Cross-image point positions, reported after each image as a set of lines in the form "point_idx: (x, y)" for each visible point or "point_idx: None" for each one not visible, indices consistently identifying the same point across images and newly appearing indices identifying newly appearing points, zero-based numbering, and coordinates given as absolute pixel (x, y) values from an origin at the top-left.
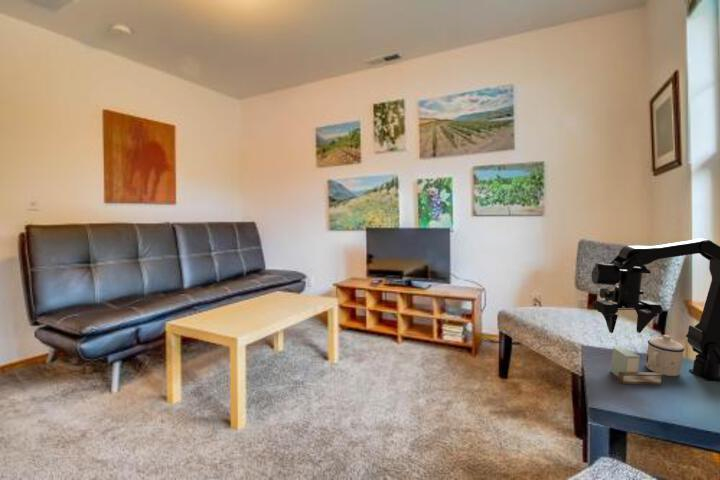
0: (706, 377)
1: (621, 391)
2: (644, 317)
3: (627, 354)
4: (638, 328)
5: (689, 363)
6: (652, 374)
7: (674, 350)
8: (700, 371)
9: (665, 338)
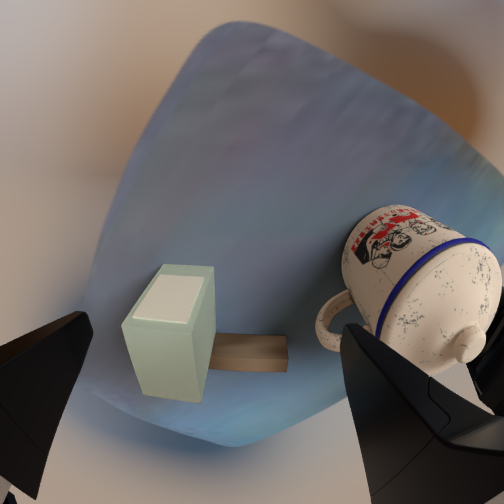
0: None
1: None
2: (389, 499)
3: (154, 386)
4: (350, 365)
5: (501, 213)
6: (251, 369)
7: None
8: None
9: (453, 352)
